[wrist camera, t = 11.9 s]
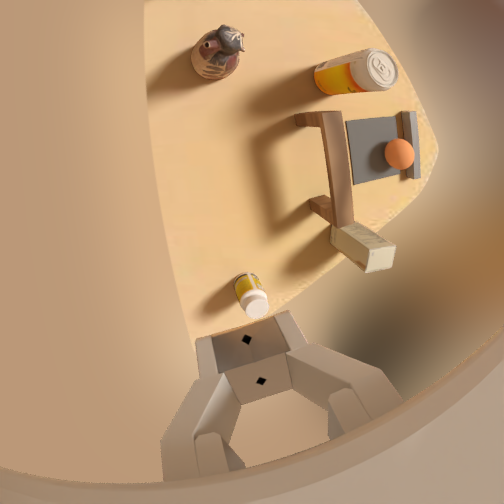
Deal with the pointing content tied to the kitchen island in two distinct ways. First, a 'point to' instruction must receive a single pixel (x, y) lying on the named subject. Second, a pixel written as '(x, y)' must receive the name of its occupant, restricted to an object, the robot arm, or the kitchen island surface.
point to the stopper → (412, 141)
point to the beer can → (357, 73)
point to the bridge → (332, 168)
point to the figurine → (217, 53)
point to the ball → (399, 154)
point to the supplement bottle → (251, 295)
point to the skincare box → (363, 247)
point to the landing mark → (371, 147)
